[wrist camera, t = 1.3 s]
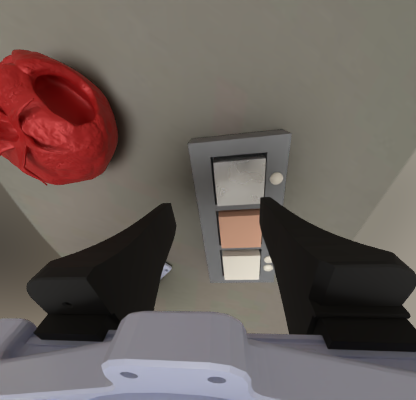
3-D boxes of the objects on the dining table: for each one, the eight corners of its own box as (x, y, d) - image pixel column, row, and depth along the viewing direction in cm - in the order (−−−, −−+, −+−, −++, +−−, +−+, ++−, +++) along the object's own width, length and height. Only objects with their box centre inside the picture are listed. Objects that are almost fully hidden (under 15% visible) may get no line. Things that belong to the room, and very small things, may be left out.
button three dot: (258, 236, 22) (260, 247, 20) (221, 238, 22) (221, 248, 21) (259, 205, 19) (262, 214, 18) (218, 208, 20) (218, 217, 18)
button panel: (269, 267, 27) (273, 283, 24) (211, 268, 28) (210, 283, 25) (282, 129, 17) (292, 133, 14) (191, 138, 18) (187, 144, 15)
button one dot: (259, 194, 19) (263, 203, 17) (217, 197, 19) (217, 206, 18) (261, 152, 17) (265, 158, 15) (213, 157, 17) (213, 162, 15)
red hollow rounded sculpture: (124, 179, 21) (65, 230, 13) (35, 146, 19) (-91, 182, 12) (138, 89, 16) (56, 84, 8) (20, 36, 14) (-222, -35, 7)
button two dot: (256, 268, 25) (259, 279, 23) (224, 268, 25) (224, 280, 24) (257, 244, 22) (260, 255, 21) (222, 245, 23) (222, 256, 21)
